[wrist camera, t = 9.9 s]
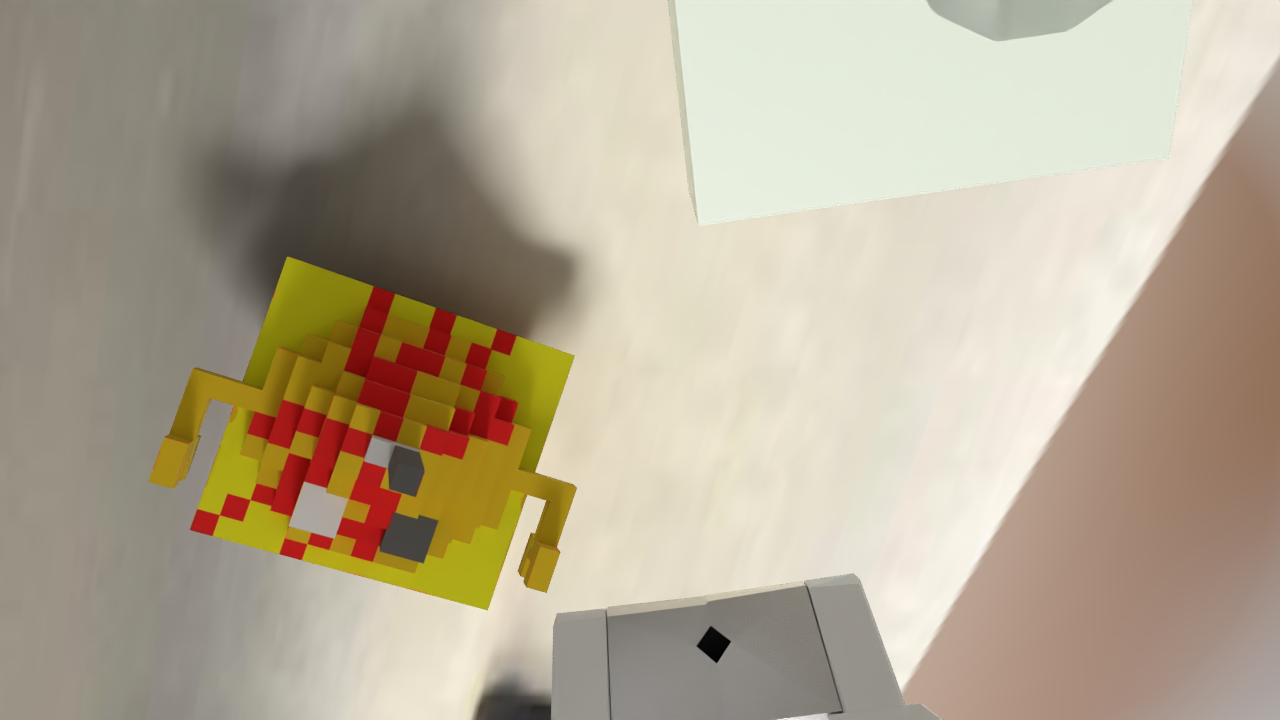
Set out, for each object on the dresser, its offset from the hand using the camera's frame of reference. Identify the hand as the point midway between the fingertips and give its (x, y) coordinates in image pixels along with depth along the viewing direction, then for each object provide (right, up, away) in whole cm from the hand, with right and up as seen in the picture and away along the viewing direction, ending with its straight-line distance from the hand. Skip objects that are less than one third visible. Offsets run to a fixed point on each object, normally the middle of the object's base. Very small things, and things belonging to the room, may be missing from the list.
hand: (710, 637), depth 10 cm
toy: (-10, +2, +30) cm, 32 cm away
